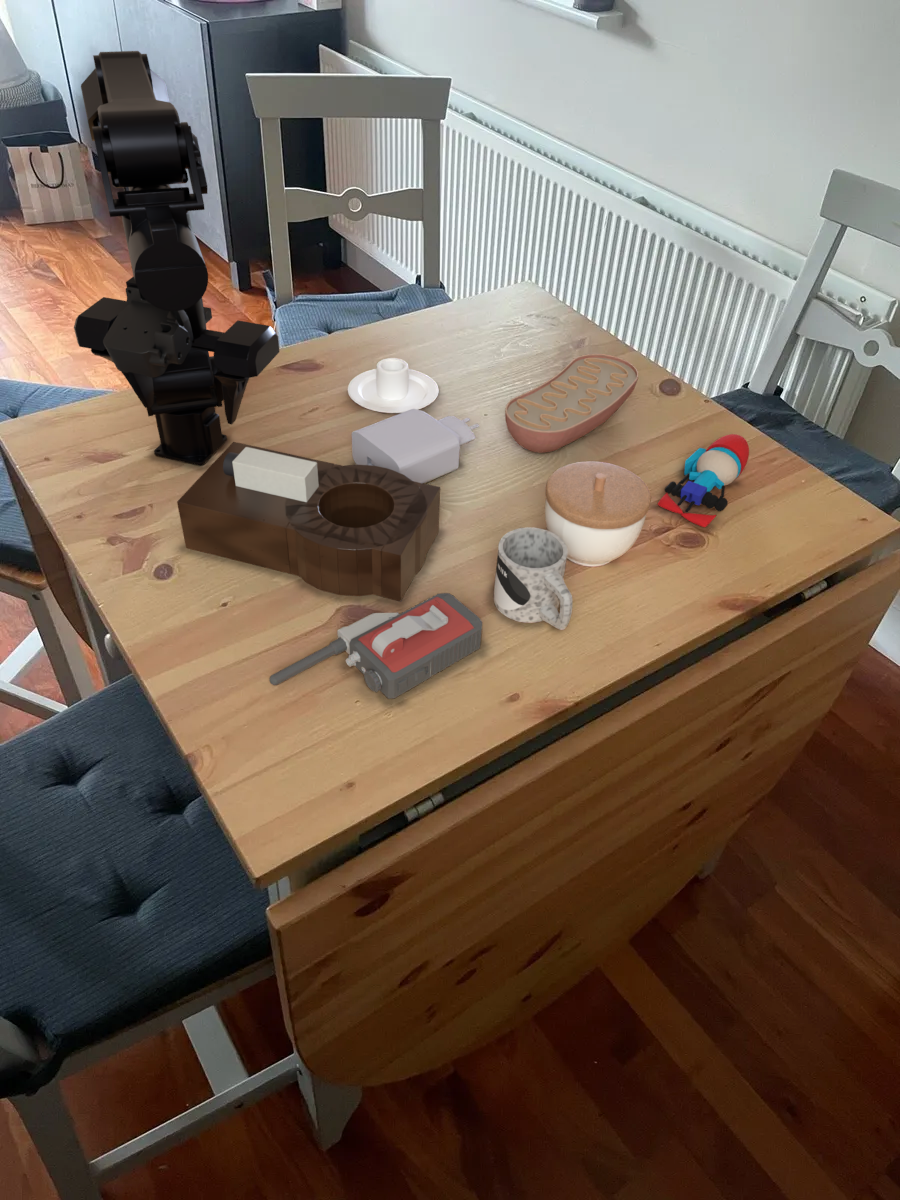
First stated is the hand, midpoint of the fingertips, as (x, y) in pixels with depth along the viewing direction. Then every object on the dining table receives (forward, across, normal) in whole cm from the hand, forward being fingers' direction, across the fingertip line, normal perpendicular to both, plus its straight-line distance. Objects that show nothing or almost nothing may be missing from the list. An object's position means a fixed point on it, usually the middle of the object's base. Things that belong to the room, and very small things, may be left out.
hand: (190, 414), depth 93 cm
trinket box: (+12, +42, +7) cm, 44 cm away
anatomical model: (+12, +35, +31) cm, 49 cm away
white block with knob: (+6, +9, -1) cm, 11 cm away
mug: (+12, +38, -5) cm, 40 cm away
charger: (+12, +20, +18) cm, 29 cm away
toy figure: (+12, +53, +22) cm, 59 cm away
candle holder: (+12, +11, +31) cm, 35 cm away
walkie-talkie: (+12, +26, -16) cm, 33 cm away
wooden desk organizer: (+12, +13, -1) cm, 18 cm away
